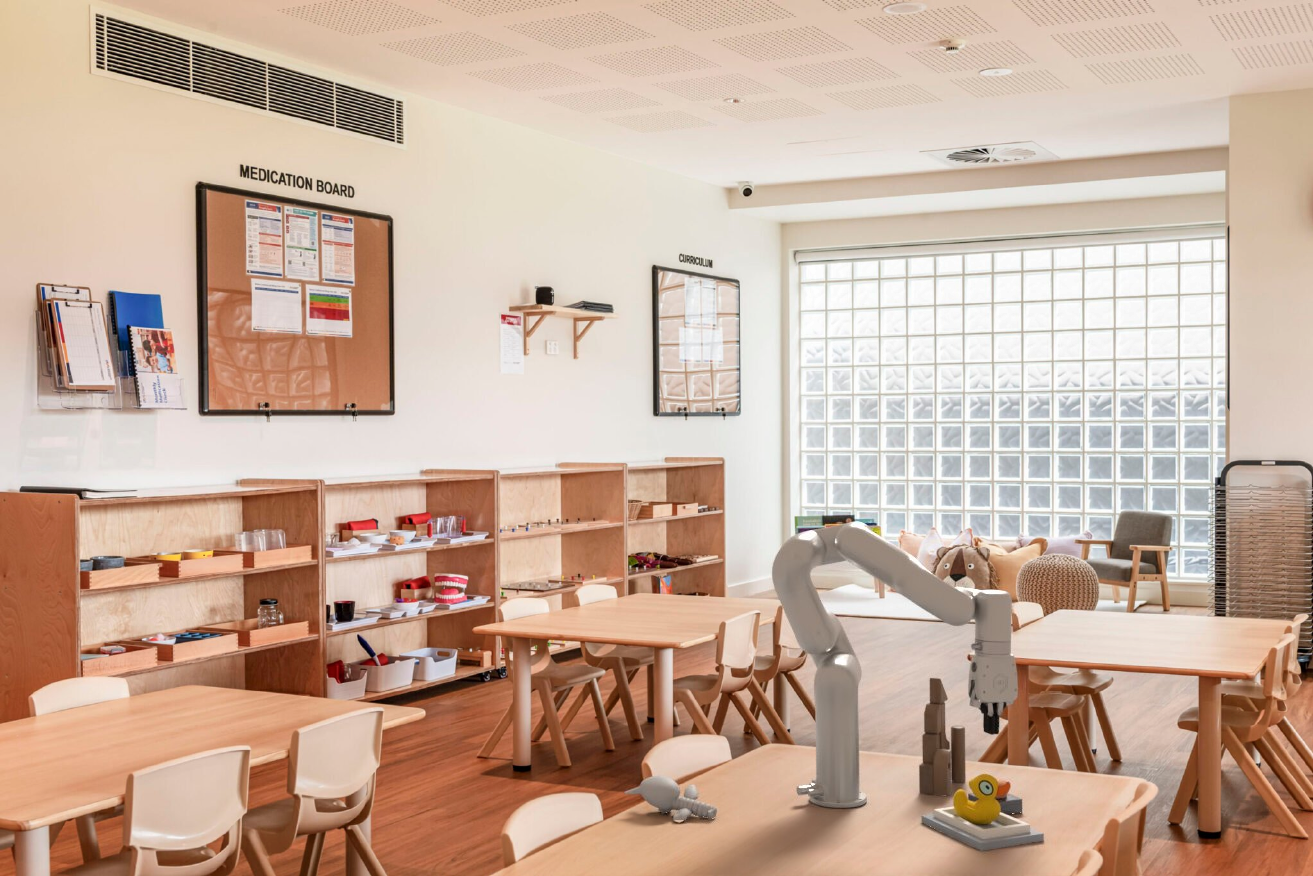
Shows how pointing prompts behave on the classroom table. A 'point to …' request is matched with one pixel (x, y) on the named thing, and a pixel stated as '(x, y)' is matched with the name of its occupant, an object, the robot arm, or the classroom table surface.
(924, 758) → the wooden toy
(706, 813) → the toy creature
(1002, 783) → the button
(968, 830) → the tray
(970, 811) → the duckling
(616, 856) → the classroom table surface
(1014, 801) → the button base
